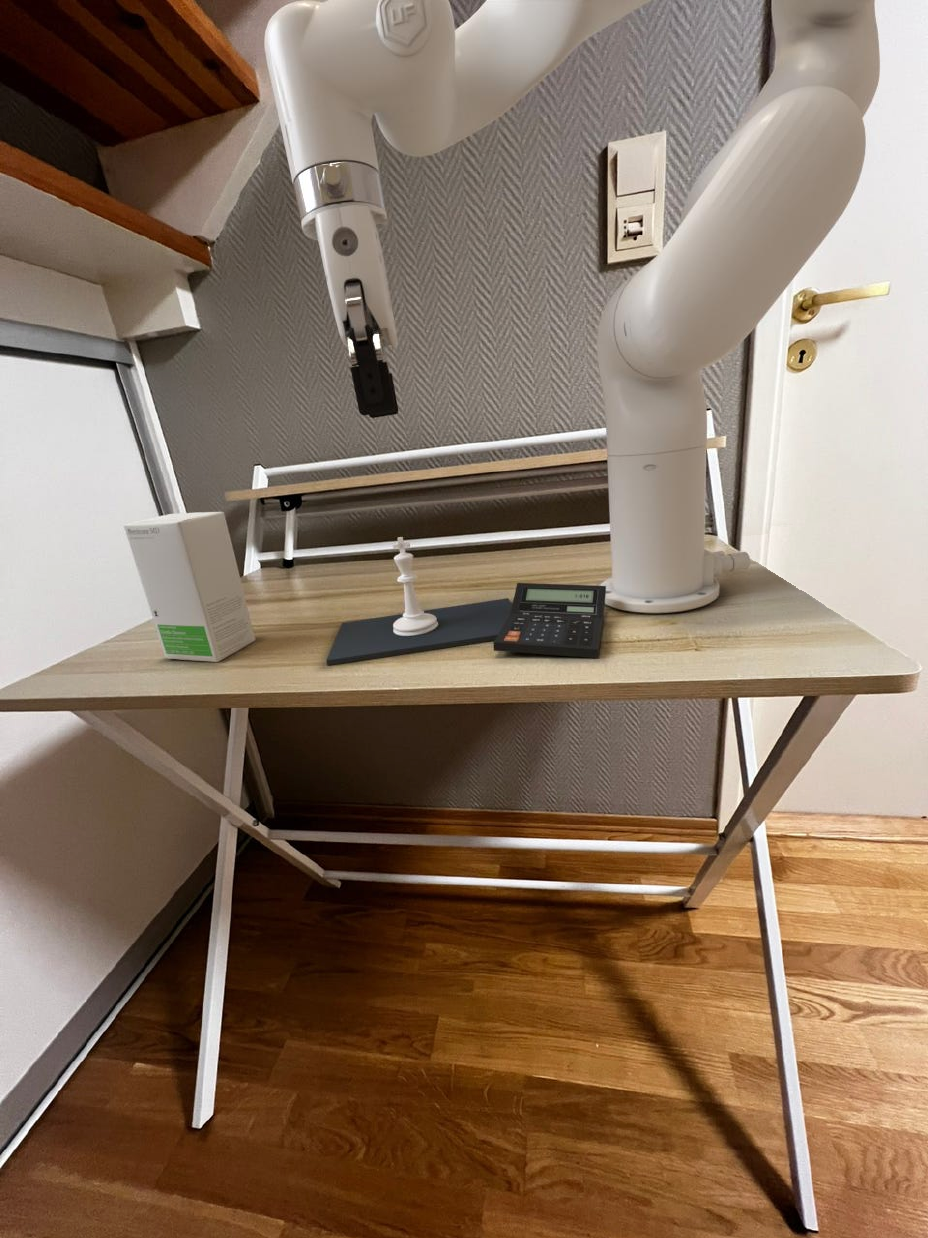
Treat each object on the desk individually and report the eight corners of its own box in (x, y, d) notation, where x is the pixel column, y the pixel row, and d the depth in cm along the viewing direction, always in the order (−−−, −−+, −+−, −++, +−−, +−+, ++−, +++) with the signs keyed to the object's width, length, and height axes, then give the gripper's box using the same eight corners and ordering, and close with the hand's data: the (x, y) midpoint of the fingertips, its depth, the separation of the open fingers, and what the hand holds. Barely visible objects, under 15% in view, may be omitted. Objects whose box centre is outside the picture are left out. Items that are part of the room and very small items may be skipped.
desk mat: (508, 602, 64) (508, 597, 64) (524, 635, 54) (524, 630, 54) (343, 627, 64) (342, 622, 64) (327, 665, 53) (325, 660, 53)
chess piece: (431, 635, 56) (416, 540, 52) (387, 637, 57) (369, 545, 54) (442, 618, 60) (429, 530, 57) (401, 620, 61) (385, 534, 58)
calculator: (493, 650, 50) (492, 620, 48) (518, 607, 60) (518, 581, 59) (597, 658, 47) (598, 626, 46) (605, 611, 57) (606, 584, 56)
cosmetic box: (164, 660, 61) (116, 525, 56) (208, 637, 67) (168, 513, 62) (220, 662, 58) (175, 520, 53) (261, 638, 64) (224, 507, 59)
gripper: (377, 153, 39) (419, 404, 45) (389, 235, 55) (418, 411, 61) (274, 168, 39) (330, 418, 44) (317, 246, 55) (353, 422, 61)
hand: (381, 414), depth 53 cm, fingers open, 9 cm apart
